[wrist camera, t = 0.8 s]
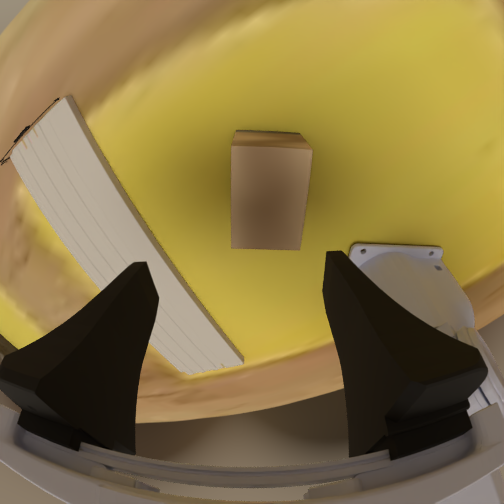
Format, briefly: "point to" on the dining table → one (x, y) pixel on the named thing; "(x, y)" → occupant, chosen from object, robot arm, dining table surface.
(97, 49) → the dining table surface
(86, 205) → the baseboard
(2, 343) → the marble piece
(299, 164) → the block
